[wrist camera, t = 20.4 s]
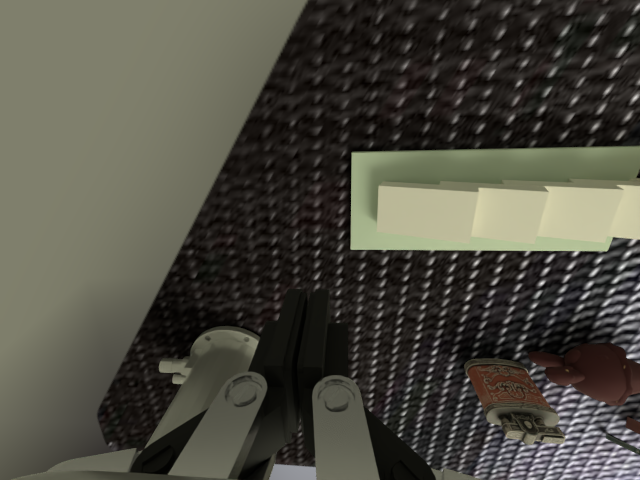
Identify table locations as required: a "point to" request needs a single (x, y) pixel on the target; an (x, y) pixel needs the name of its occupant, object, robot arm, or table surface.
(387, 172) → the board
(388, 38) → the table surface
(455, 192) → the domino
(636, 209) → the domino
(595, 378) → the icecream
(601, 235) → the domino
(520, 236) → the domino
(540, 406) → the lighter
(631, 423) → the binoculars
